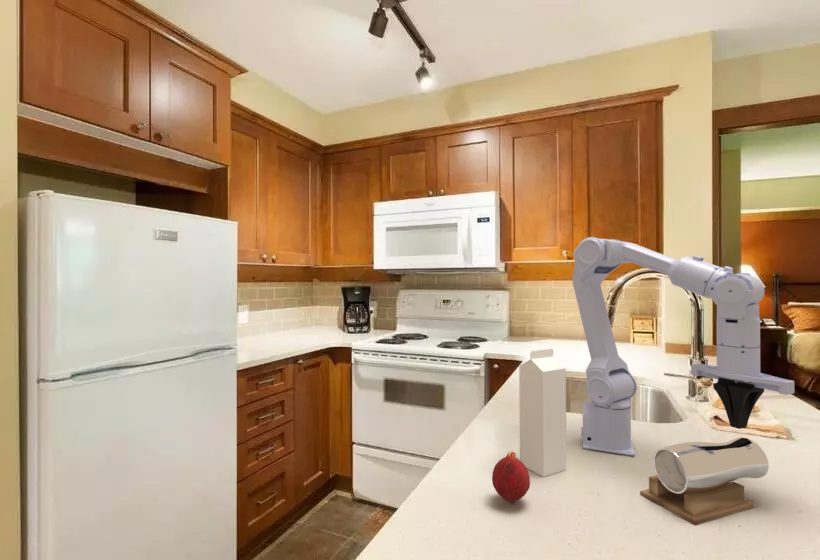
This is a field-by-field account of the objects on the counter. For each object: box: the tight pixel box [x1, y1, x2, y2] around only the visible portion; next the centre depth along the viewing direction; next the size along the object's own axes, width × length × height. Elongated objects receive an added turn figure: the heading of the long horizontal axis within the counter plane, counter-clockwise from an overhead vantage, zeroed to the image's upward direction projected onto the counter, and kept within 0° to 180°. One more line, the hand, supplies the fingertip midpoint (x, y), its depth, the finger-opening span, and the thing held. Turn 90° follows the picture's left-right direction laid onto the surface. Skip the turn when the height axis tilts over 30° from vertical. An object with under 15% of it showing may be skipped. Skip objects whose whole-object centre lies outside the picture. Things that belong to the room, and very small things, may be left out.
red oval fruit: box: [491, 450, 531, 504], centre depth 65 cm, size 6×6×8 cm
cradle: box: [639, 474, 755, 526], centre depth 65 cm, size 9×13×3 cm
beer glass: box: [652, 436, 770, 494], centre depth 65 cm, size 7×7×15 cm
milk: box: [518, 348, 567, 478], centre depth 77 cm, size 6×6×22 cm
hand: (738, 426), depth 69 cm, fingers closed
